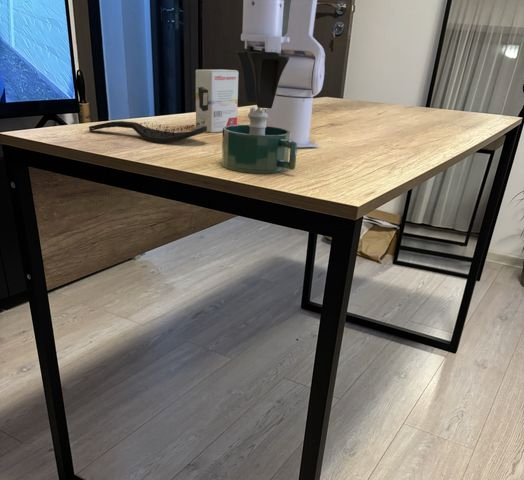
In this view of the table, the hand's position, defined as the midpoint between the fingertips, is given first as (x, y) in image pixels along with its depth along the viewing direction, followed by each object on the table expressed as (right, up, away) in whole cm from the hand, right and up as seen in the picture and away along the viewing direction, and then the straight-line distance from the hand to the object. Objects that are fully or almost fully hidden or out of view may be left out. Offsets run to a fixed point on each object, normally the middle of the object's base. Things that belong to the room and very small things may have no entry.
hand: (258, 104), depth 82 cm
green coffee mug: (0, -8, +4) cm, 9 cm away
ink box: (-10, +10, +35) cm, 38 cm away
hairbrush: (-22, +3, +22) cm, 31 cm away
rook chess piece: (-1, -8, +4) cm, 9 cm away
